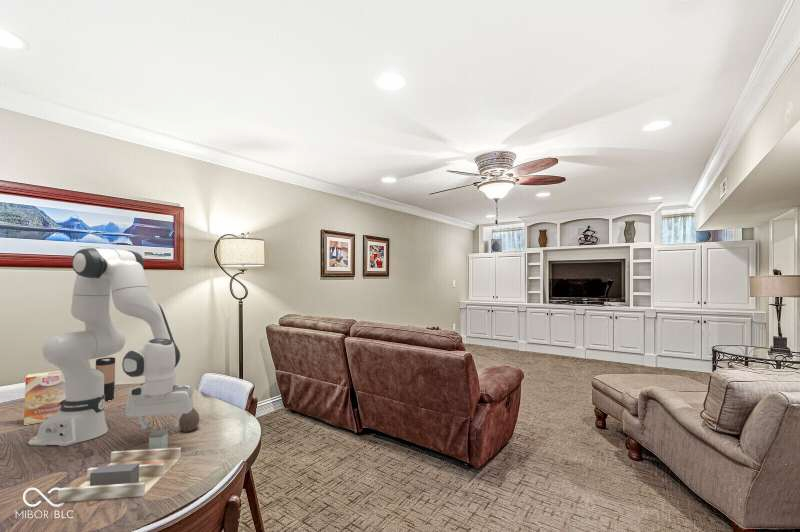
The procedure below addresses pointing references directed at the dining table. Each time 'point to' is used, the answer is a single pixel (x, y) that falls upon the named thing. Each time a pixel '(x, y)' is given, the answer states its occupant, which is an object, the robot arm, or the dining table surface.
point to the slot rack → (150, 472)
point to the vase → (189, 421)
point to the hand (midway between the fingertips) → (160, 427)
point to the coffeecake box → (43, 396)
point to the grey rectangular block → (158, 439)
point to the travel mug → (107, 375)
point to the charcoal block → (115, 475)
